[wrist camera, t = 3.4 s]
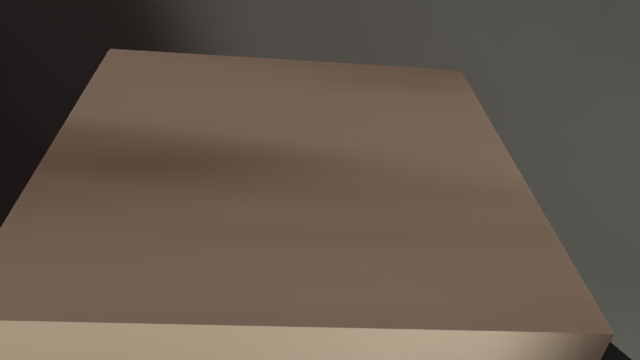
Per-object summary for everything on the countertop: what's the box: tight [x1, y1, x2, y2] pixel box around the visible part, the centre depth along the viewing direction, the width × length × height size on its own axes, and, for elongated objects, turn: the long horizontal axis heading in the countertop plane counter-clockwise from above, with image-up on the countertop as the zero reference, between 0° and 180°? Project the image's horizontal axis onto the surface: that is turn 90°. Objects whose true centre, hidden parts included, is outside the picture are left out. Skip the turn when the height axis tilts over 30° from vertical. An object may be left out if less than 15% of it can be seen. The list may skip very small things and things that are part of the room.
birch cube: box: [0, 49, 614, 360], centre depth 8 cm, size 5×5×5 cm
